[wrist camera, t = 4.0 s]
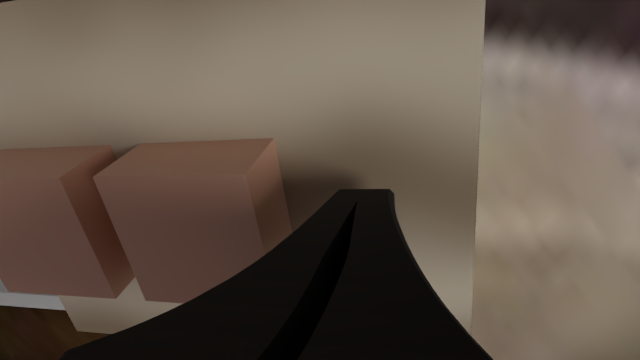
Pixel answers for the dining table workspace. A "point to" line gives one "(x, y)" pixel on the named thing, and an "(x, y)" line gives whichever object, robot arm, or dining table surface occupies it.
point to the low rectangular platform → (267, 106)
